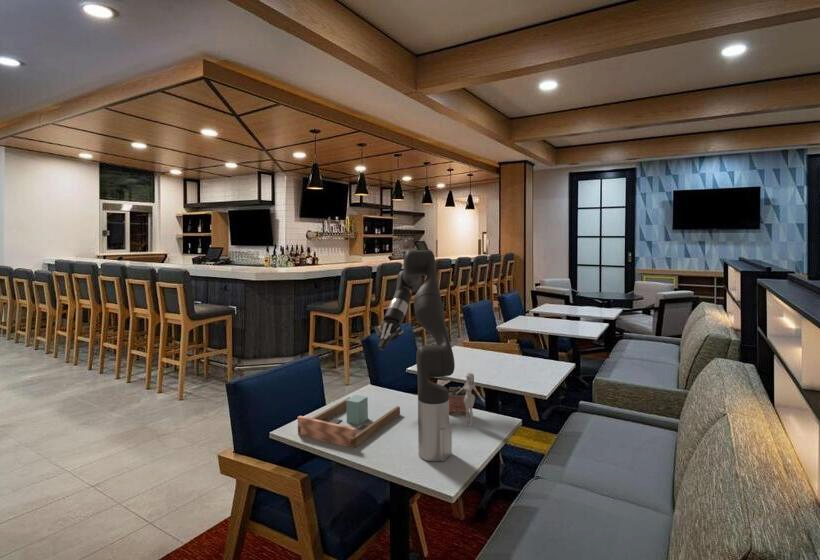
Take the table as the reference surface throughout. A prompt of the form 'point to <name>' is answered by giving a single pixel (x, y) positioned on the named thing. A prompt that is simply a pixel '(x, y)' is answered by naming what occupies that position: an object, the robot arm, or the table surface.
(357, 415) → the block
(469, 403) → the human figurine
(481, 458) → the table surface
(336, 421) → the trap pads
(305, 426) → the lane box
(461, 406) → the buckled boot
